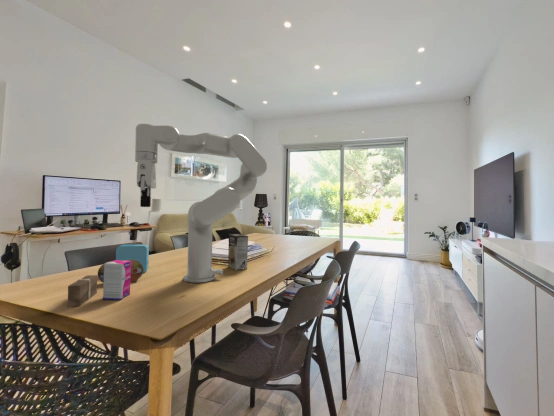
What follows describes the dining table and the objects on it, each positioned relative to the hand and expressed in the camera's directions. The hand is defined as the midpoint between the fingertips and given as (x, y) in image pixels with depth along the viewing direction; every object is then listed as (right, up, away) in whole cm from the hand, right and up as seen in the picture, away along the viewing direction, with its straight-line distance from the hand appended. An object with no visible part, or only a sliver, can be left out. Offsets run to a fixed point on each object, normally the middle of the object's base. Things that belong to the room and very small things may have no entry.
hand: (145, 206), depth 102 cm
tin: (-10, -29, +2) cm, 31 cm away
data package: (-14, -29, +17) cm, 36 cm away
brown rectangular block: (-11, -29, -18) cm, 36 cm away
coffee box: (+30, -30, +30) cm, 52 cm away
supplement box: (-2, -29, -15) cm, 33 cm away
